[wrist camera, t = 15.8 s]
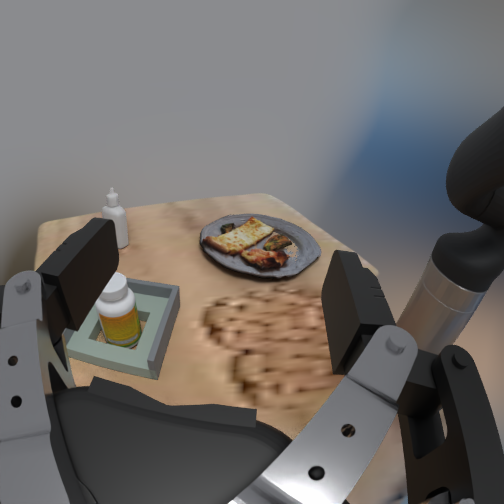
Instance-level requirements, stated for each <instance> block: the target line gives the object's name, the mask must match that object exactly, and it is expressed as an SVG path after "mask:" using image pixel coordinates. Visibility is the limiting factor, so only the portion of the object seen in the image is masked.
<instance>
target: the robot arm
mask: <svg viewBox="0 0 504 504" xmlns="http://www.w3.org/2000/svg"><path fill="white" fill-rule="evenodd" d="M446 189H447V194H448V197H449V200H450V201H451V203H452V205H453V206H455V208H456V209H458V210H459V211H460V212H461V213H463V214H465V215H467V216H469V217H471V218H473V219H476V220H478V221H480V222H482V223H484V224H483V225H482V226H481V227H480V228H478V229H476V230H474V231H471V232H464V233H447V234H444V235H442V236H441V237H440V238H439V239H438V241H437V243H436V245H435V247H434V249H433V252H432V254H431V256H430V259H429V261H428V263H427V265H426V267H425V269H424V271H423V274H422V276H421V278H420V280H419V282H418V284H417V286H416V288H415V290H414V292H413V294H412V296H411V298H410V300H409V302H408V304H407V306H406V308H405V309H404V311H403V313H402V314H401V316H400V318H399V320H398V322H397V323H395V321H394V318H393V316H392V313H391V311H390V308H389V306H388V303H387V301H386V299H385V298H384V297H385V296H384V293H383V291H382V290H381V286H380V284H379V282H378V279H377V277H376V276H375V275H374V274H373V273H372V272H371V271H370V270H369V269H368V268H363V267H362V264H361V262H360V259H359V257H358V255H357V253H355V252H348V251H341V250H335V251H334V253H333V256H332V259H331V262H330V265H329V268H328V272H327V275H326V278H325V281H324V284H323V288H322V295H321V300H322V307H323V313H324V318H325V325H326V331H327V337H328V343H329V350H330V357H331V364H332V371H333V374H336V375H345V377H344V378H343V379H342V381H341V382H340V383H339V385H338V386H337V387H336V389H335V390H334V391H333V393H332V394H331V395H330V397H329V398H328V399H327V401H326V402H325V403H324V404H323V406H322V407H321V408H320V409H319V411H318V412H317V413H316V414H315V416H314V417H313V418H312V419H311V420H310V422H309V423H308V424H307V425H306V426H305V428H304V429H303V430H302V431H301V432H300V433H299V435H298V436H297V437H296V438H295V439H294V440H292V439H290V438H289V437H288V436H287V435H285V434H284V433H283V432H281V431H279V430H278V429H276V428H274V427H272V426H270V425H268V424H266V423H263V422H260V421H257V420H256V413H257V409H250V408H241V407H232V406H225V405H218V404H204V405H180V406H169V405H165V404H163V403H161V402H159V401H157V400H155V399H153V398H151V397H149V396H147V395H145V394H143V393H141V392H139V391H137V390H135V389H133V388H132V387H130V386H126V385H123V384H119V383H115V382H112V381H109V380H105V379H102V378H99V377H96V376H94V377H93V380H92V382H91V384H90V386H82V387H76V385H75V382H74V379H73V375H72V371H71V366H70V362H69V357H68V352H67V347H66V341H65V337H64V335H63V332H64V330H65V329H66V328H67V329H70V330H74V331H77V332H78V330H79V329H80V327H81V325H82V324H83V322H84V320H85V319H86V317H87V315H88V314H89V312H90V311H91V309H92V307H93V306H94V304H95V302H96V301H97V299H98V298H99V296H100V295H101V293H102V292H103V290H104V288H105V287H106V285H107V284H108V282H109V281H110V279H111V278H112V276H113V275H114V273H115V272H116V270H117V267H118V263H119V252H118V245H117V237H116V229H115V223H114V221H113V220H111V219H103V218H93V219H91V220H90V221H89V222H88V223H87V224H86V225H85V226H84V227H83V228H82V229H80V230H78V231H76V232H75V233H73V234H71V235H70V236H69V237H68V238H67V239H66V240H65V241H64V242H63V243H62V244H61V245H60V246H59V247H58V248H57V249H56V251H54V252H53V253H52V254H51V255H50V256H49V257H48V258H47V259H46V260H45V262H44V263H43V264H42V265H41V266H40V267H39V268H38V269H37V270H36V271H24V272H21V273H18V274H16V275H15V276H13V277H12V278H11V279H10V280H9V281H8V282H7V284H6V285H2V286H0V504H350V503H349V502H348V501H347V500H346V497H347V496H348V495H349V493H350V492H351V490H352V489H353V487H354V486H355V484H356V483H357V481H358V480H359V478H360V477H361V475H362V474H363V472H364V471H365V469H366V468H367V466H368V464H369V463H370V461H371V459H372V458H373V456H374V454H375V453H376V451H377V449H378V448H379V446H380V444H381V442H382V441H383V439H384V437H385V435H386V433H387V431H388V429H389V428H390V426H391V424H392V422H393V420H394V418H395V416H396V414H397V413H398V416H399V423H400V429H401V436H402V443H403V451H404V459H405V469H406V479H407V492H408V504H504V454H503V449H502V445H501V441H500V437H499V433H498V430H497V427H496V423H495V419H494V416H493V413H492V409H491V406H490V403H489V400H488V397H487V394H486V392H485V389H484V386H483V383H482V381H481V378H480V375H479V373H478V370H477V367H476V365H475V362H474V360H473V358H472V357H471V355H470V354H469V353H468V352H467V351H466V350H464V349H463V348H461V347H459V346H457V345H453V343H454V342H455V340H456V339H457V338H458V336H459V335H460V333H461V332H462V330H463V329H464V328H465V326H466V325H467V323H468V322H469V320H470V318H471V317H472V315H473V314H474V312H475V311H476V309H477V307H478V306H479V304H480V302H481V301H482V299H483V297H484V296H485V294H486V292H487V290H488V289H489V287H490V285H491V284H492V282H493V281H494V280H495V279H496V278H497V277H498V276H499V275H500V274H501V272H502V271H503V270H504V107H503V108H502V109H501V110H500V111H499V112H497V113H496V114H495V115H494V116H492V117H491V118H490V119H488V120H487V121H486V122H485V123H483V124H482V125H481V126H480V127H478V128H477V129H476V130H475V131H473V132H472V133H471V134H470V135H469V136H468V137H467V138H466V139H465V140H464V141H463V142H462V143H461V144H460V146H459V147H458V149H457V150H456V152H455V154H454V156H453V158H452V160H451V162H450V165H449V168H448V171H447V176H446ZM442 408H443V412H444V416H445V420H446V424H447V437H446V439H445V436H444V431H443V427H442V422H441V418H440V414H439V411H440V410H441V409H442Z"/></svg>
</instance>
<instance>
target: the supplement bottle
mask: <svg viewBox="0 0 504 504" xmlns="http://www.w3.org/2000/svg"><path fill="white" fill-rule="evenodd" d="M95 307H96V311H97V314H98V317H99V321H100V324H101V327H102V330H103V333H104V336H105V339H106V341H107V343H108V344H111V345H115V346H119V347H124V348H128V349H130V348H132V347H134V346H136V345H137V344H138V343H139V340H140V337H141V335H142V332H141V327H140V322H139V317H138V311H137V306H136V300H135V295H134V293H133V291H132V290H131V289H130V288H128V285H127V280H126V277H125V276H124V275H123V274H121V273H117V272H115V273H114V275H113V276H112V278H111V279H110V281H109V282H108V284H107V285H106V287H105V288H104V290H103V292H102V293H101V295H100V296H99V298H98V299H97V301H96V302H95Z"/></svg>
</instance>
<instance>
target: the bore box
mask: <svg viewBox="0 0 504 504" xmlns="http://www.w3.org/2000/svg"><path fill="white" fill-rule="evenodd" d="M126 280H127V285H128V288H130V289H131V290H132V291H133V293H134V295H135V300H136V306H137V311H138V317H139V320H142V321H147V322H146V325H145V327H144V330H143V332H142V335H141V337H140V340H139V343H138V345H137V348H136V350H133V349H128V348H124V347H119V346H115V345H111V344H107V343H103V342H99V341H96V339H97V337H98V335H99V333H100V331H101V329H102V327H101V324H100V321H99V317H98V314H97V311H96V307H95V304H94V306H93V307H92V309H91V311H90V312H89V314H88V315H87V317H86V319H85V320H84V322H83V324H82V325H81V327H80V329H79V330H78V332H77V331H74V330H70V329H67V328H66V329H65V330H64V332H63V335H64V337H65V341H66V347H67V352H68V357H71V358H74V359H77V360H80V361H84V362H87V363H90V364H94V365H97V366H101V367H105V368H108V369H112V370H116V371H120V372H124V373H128V374H132V375H137V376H141V377H146V378H150V379H155V380H158V377H159V373H160V370H161V366H162V363H163V360H164V356H165V353H166V349H167V346H168V343H169V339H170V336H171V333H172V330H173V326H174V323H175V320H176V317H177V314H178V311H179V307H180V296H179V286H175V285H168V284H162V283H155V282H149V281H142V280H136V279H130V278H126Z"/></svg>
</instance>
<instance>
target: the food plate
mask: <svg viewBox="0 0 504 504" xmlns="http://www.w3.org/2000/svg"><path fill="white" fill-rule="evenodd" d="M228 216H229V217H227V216H225V217H223V218H220V219H218V220H216V221H214V223H211V224H209V225H208V226H207V225H206V226H205V227H204V228H203V229H202V231H201V233H200V245H201V246H202V247H203V250H204V252H205V253H207V254H208V255H209V256H210V257H211V258H213V259H214V260H215V261H217V262H219V263H220V264H221V265H222V266H224V267H226V268H228V269H231V270H233V271H236V272H240V273H246V274H251V275H255V276H257V277H260V278H263V277H266V278H271V277H272V278H273V276H275V278H281V277H283V276H285V275H287V277H291V276H293V275H295V274H297V273H298V272H300V271H302V270H303V269H304V268H306V267H307V266H309V265H310V263H311V262H313V261H314V260H315V259H316V258H317V257H318V256H319V255H320V256H321V249H320V247H319V245H318V244H317V242H316V241H315V240H314V238H313V237H312V236H311V235H310V234H309V233H308V232H306V231H305V230H303V229H302V227H298V226H297V225H295V224H292V223H290V222H287V221H284V220H282V219H280V218H275V217H270V216H267V215H260V214H240V215H234V214H233V215H232V216H231V215H228ZM273 231H274V232H276V233H278V234H280V235H275V236H273V237H271V238H270V239H268V241H267V242H265V241H266V239H267V238H268V237H270V236H271V235H272V234H273V233H272V232H273ZM289 239H290V240H291V241H292V242H293V243H295V246H297V247H298V248H297V250H299V252H298V251H297V253H296V255H299V256H297V258H296V257H289V254H293V252H291V251H290V252H289V253H288V252H287V251H286V250H287V249H284V247H286V246H289V245H292V243H291V241H290V240H289ZM295 246H294V247H295ZM296 255H295V256H296ZM288 258H290V259H288ZM292 259H293V260H292ZM296 259H297V260H296ZM295 260H296V261H295ZM289 265H290V266H289ZM272 280H273V279H272Z"/></svg>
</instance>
